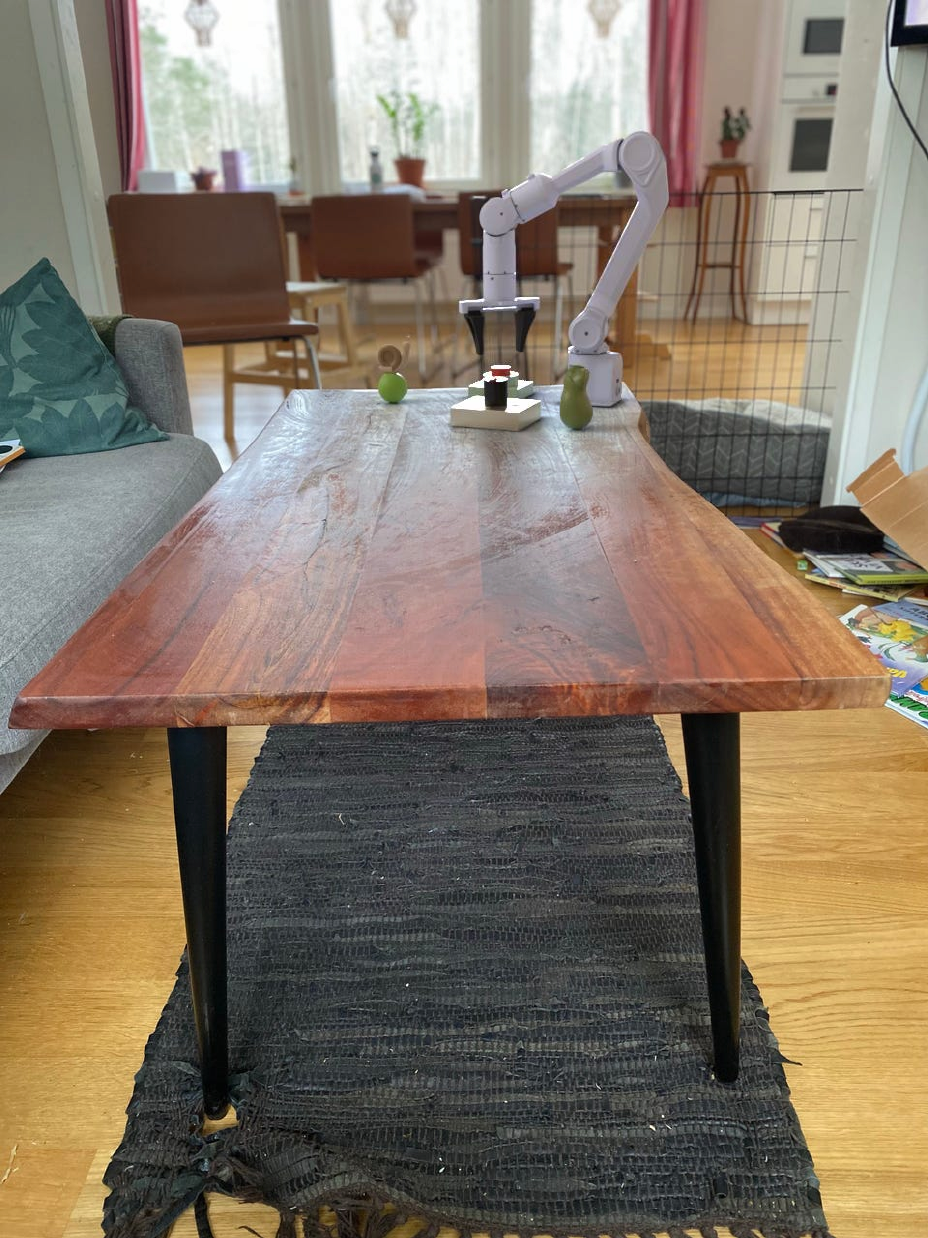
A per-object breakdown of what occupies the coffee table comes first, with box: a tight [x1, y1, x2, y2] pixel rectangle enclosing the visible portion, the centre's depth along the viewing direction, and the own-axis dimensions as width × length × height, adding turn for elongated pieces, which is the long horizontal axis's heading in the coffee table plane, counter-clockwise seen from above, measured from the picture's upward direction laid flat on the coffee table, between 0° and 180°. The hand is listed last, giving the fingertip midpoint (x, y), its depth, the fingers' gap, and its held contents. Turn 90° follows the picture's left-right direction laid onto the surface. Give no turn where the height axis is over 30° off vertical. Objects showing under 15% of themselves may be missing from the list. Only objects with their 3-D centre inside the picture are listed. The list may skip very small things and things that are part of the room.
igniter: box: [467, 371, 534, 399], centre depth 176 cm, size 10×8×4 cm
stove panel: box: [449, 396, 541, 432], centre depth 155 cm, size 12×10×3 cm
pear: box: [559, 365, 594, 430], centre depth 148 cm, size 6×5×10 cm
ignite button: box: [490, 364, 512, 376], centre depth 175 cm, size 4×4×2 cm
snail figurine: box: [377, 334, 411, 404], centre depth 170 cm, size 5×6×12 cm
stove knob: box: [482, 377, 508, 406], centre depth 154 cm, size 4×4×4 cm
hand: (499, 352), depth 170 cm, fingers open, 7 cm apart
